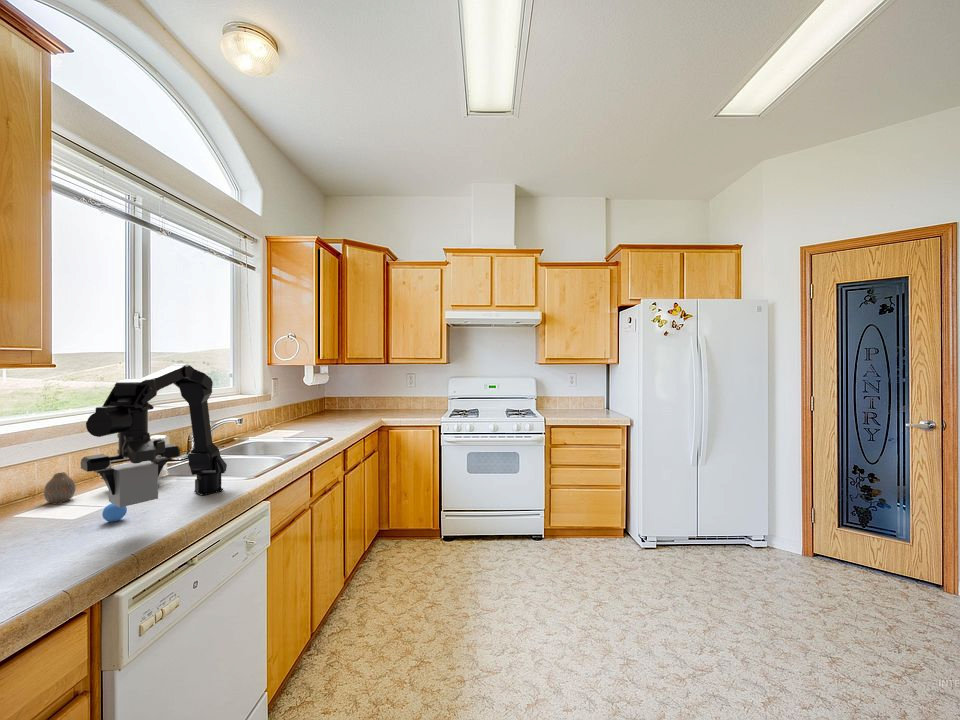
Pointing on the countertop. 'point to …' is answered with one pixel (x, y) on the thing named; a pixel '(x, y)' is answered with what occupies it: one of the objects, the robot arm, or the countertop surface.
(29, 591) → the countertop surface
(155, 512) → the countertop surface
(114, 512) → the ball
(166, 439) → the beer glass
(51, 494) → the brown rounded lump
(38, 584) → the countertop surface
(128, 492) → the gray rectangular prism
